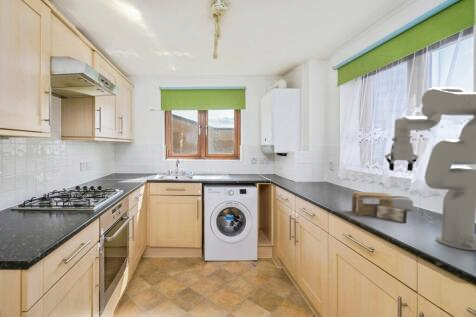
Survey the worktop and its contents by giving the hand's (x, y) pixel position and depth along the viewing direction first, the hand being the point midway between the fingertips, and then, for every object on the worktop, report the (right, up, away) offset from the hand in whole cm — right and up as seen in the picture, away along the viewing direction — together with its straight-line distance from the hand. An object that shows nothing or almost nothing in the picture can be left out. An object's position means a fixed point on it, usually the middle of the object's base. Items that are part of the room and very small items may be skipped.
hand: (400, 170), depth 130 cm
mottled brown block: (-10, -26, -6) cm, 29 cm away
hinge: (+10, -26, +16) cm, 32 cm away
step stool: (-15, -26, +4) cm, 30 cm away
